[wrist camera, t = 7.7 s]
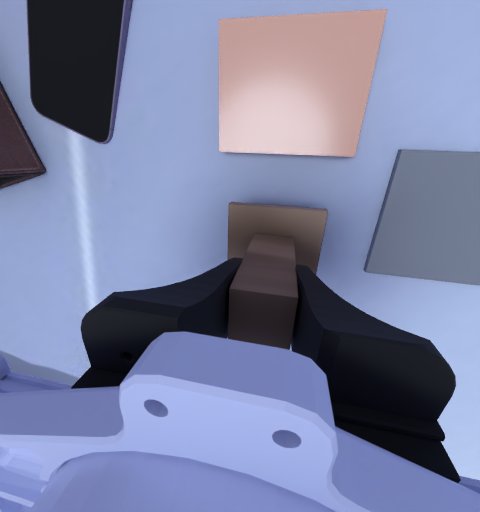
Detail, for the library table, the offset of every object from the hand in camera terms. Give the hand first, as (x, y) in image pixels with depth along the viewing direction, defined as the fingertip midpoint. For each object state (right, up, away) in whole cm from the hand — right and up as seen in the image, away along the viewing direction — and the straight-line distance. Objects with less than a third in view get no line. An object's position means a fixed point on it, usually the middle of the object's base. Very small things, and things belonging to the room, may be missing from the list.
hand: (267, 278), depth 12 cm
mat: (+13, +4, +5) cm, 15 cm away
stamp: (+1, +2, +4) cm, 5 cm away
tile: (+2, +8, +4) cm, 10 cm away
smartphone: (-12, +18, +5) cm, 22 cm away
